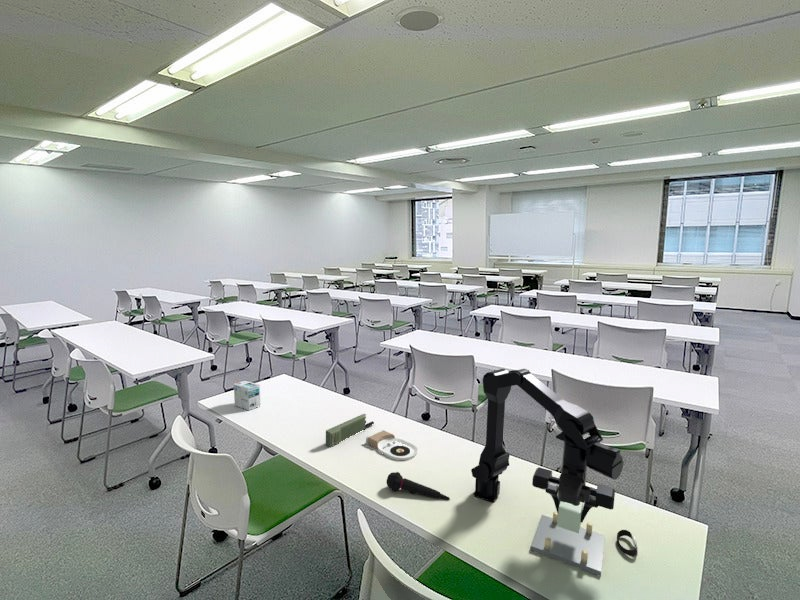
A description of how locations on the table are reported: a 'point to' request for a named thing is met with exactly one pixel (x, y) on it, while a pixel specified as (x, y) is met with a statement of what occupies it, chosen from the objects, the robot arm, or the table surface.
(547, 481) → the robot arm
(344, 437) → the handheld radio
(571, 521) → the board block
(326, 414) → the table surface
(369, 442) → the record player
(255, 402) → the light bulb box
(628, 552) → the watch
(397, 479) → the microphone
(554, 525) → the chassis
